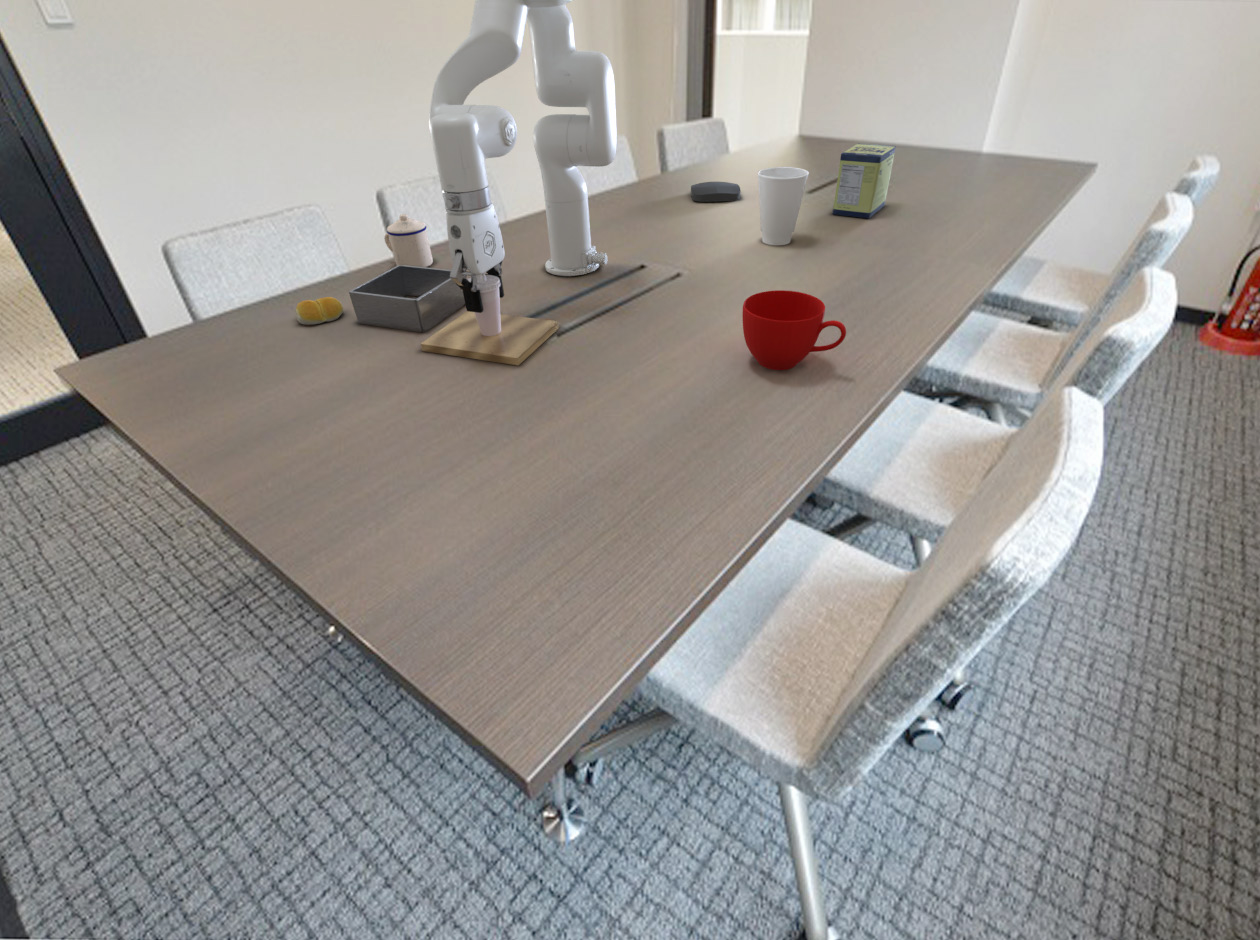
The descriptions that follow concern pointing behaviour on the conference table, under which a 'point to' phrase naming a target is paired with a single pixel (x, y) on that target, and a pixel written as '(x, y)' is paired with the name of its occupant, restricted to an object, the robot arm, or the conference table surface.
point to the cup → (780, 202)
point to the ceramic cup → (785, 327)
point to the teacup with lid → (409, 242)
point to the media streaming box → (715, 191)
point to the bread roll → (318, 310)
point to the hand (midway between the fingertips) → (485, 302)
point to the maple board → (491, 339)
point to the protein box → (863, 180)
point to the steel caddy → (388, 307)
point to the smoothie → (489, 305)
